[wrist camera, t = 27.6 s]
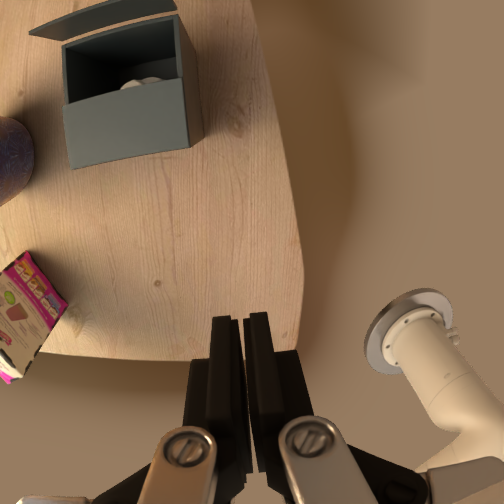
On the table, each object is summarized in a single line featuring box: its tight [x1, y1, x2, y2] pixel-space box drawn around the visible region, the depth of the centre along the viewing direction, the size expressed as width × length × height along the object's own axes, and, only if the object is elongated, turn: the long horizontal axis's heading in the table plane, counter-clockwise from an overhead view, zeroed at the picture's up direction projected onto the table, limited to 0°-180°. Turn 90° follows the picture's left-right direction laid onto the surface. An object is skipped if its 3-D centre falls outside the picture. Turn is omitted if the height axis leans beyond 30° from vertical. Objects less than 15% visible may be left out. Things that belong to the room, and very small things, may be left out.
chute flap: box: [62, 78, 189, 170], centre depth 21 cm, size 5×10×1 cm, turn 95°
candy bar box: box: [0, 250, 68, 384], centre depth 34 cm, size 11×5×16 cm, turn 29°
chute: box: [29, 0, 204, 170], centre depth 24 cm, size 12×10×20 cm
